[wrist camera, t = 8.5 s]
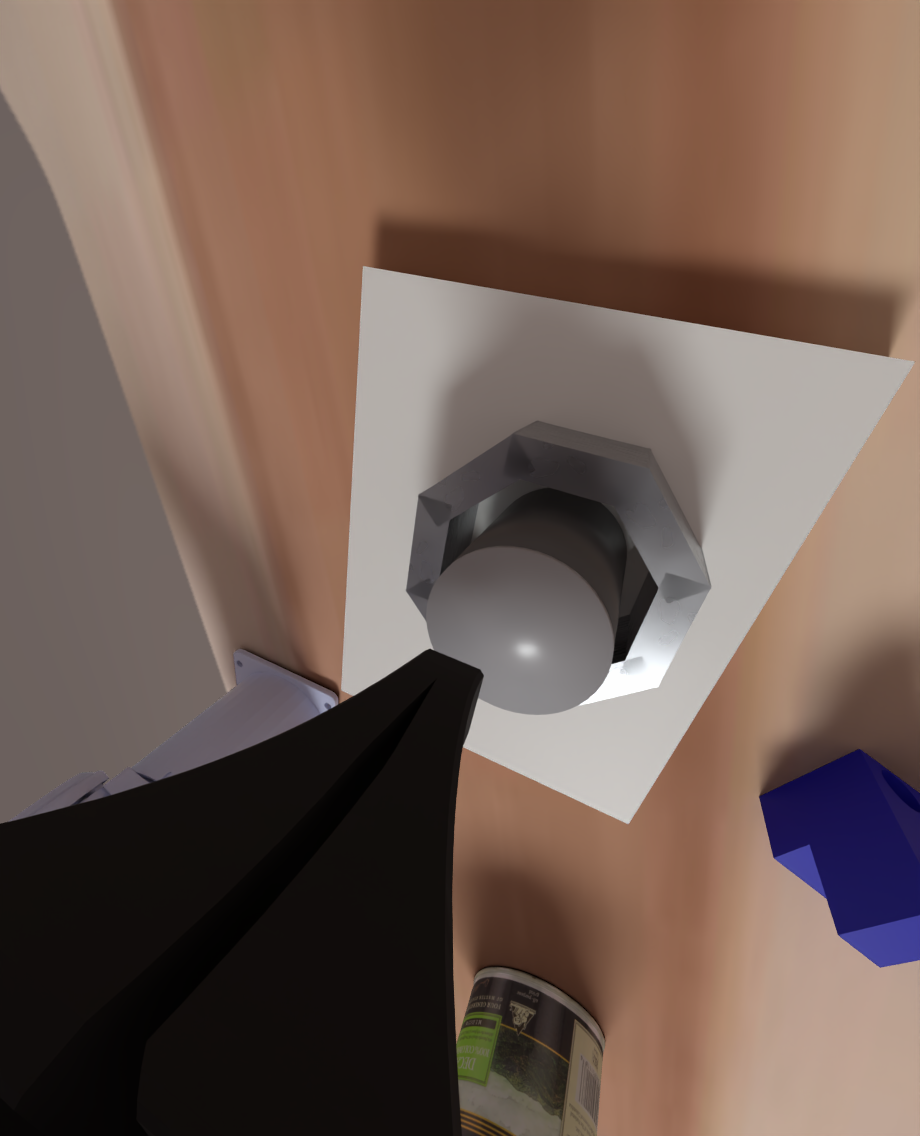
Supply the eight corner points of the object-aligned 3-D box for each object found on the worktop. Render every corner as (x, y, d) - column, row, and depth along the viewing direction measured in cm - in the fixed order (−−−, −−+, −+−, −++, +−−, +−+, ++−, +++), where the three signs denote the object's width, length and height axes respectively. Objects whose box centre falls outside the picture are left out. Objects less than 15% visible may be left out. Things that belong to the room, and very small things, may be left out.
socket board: (630, 797, 22) (624, 888, 18) (356, 674, 26) (305, 727, 22) (888, 361, 12) (994, 362, 8) (386, 273, 16) (303, 247, 12)
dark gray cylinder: (600, 628, 17) (577, 741, 12) (481, 586, 18) (416, 672, 13) (648, 510, 15) (646, 590, 10) (508, 470, 16) (440, 522, 11)
